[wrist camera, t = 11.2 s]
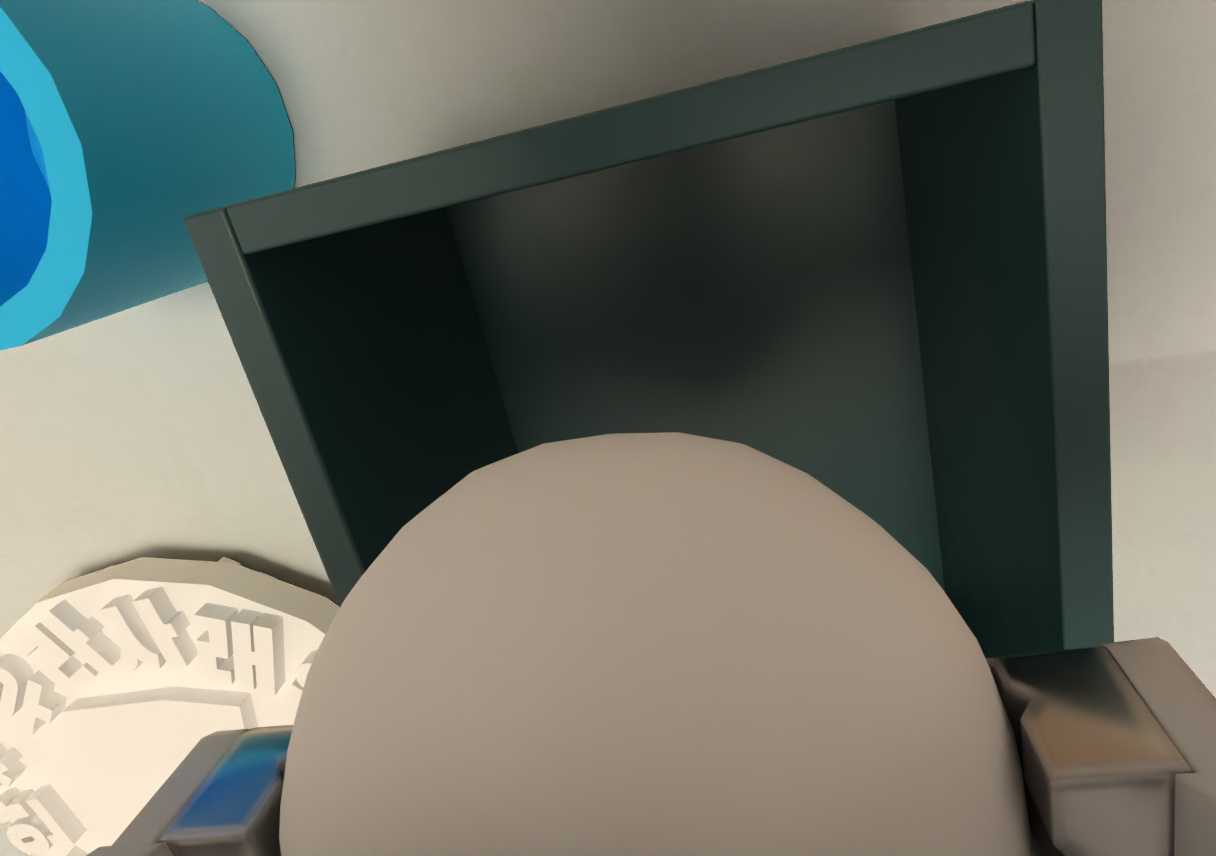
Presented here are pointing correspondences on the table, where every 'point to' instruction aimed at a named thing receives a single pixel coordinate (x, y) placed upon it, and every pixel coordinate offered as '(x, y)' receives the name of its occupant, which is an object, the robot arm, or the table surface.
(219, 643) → the giant coin
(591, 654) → the plain white apple
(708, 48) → the table surface
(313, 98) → the table surface
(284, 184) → the mug
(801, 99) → the chest
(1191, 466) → the table surface
